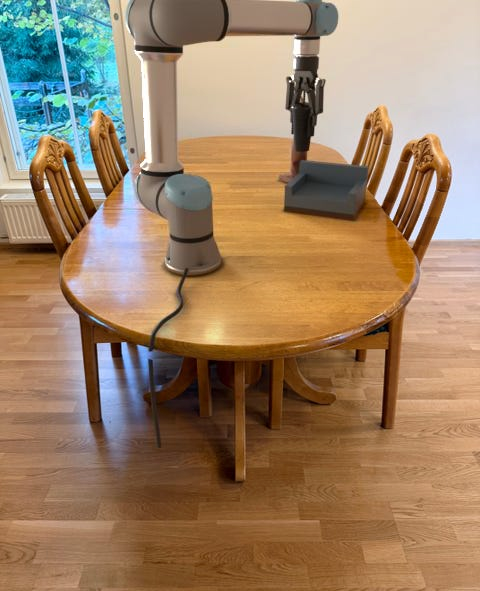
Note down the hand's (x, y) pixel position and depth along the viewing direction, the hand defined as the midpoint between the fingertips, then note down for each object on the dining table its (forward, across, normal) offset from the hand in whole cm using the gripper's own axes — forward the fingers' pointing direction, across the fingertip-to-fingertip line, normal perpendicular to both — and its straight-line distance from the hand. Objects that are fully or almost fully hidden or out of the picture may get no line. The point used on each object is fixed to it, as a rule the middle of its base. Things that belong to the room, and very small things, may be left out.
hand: (302, 134), depth 158 cm
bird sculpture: (+25, +20, -24) cm, 40 cm away
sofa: (+25, -6, -7) cm, 27 cm away
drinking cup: (+5, 0, 0) cm, 5 cm away
